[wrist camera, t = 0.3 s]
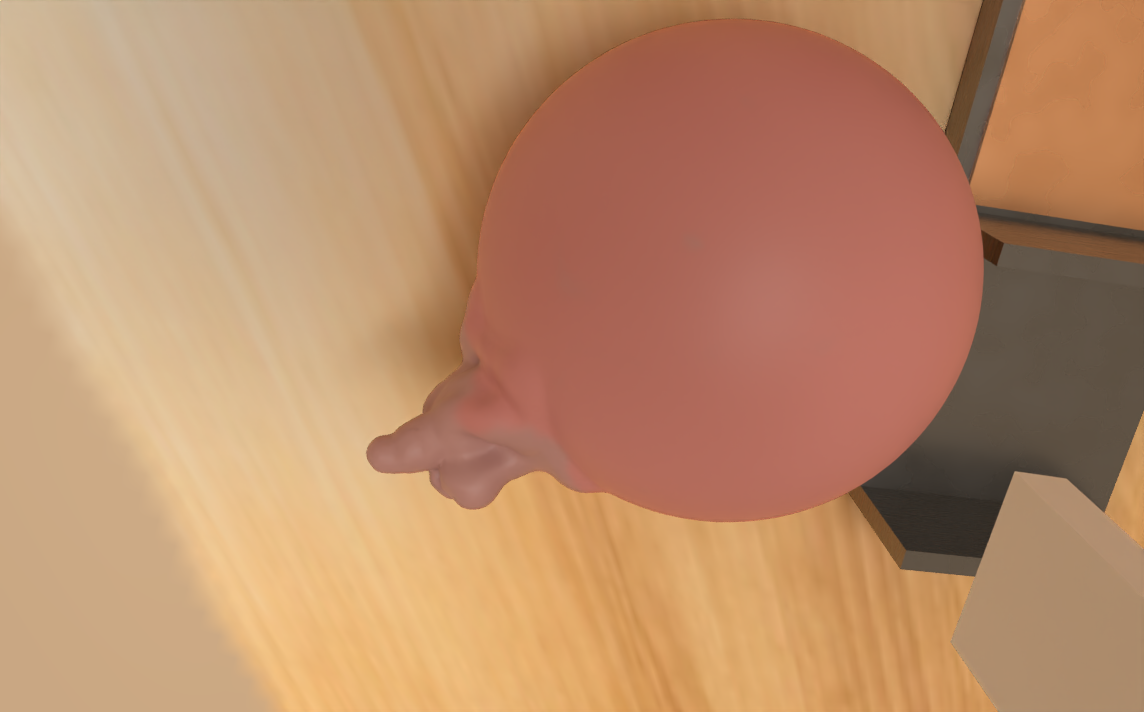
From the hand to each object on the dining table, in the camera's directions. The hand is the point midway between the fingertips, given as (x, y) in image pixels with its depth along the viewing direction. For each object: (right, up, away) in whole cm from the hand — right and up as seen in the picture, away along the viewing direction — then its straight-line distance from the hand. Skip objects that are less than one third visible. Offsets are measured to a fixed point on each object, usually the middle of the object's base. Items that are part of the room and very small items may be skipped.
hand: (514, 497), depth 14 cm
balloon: (+3, +6, +28) cm, 29 cm away
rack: (+20, +7, +29) cm, 36 cm away
